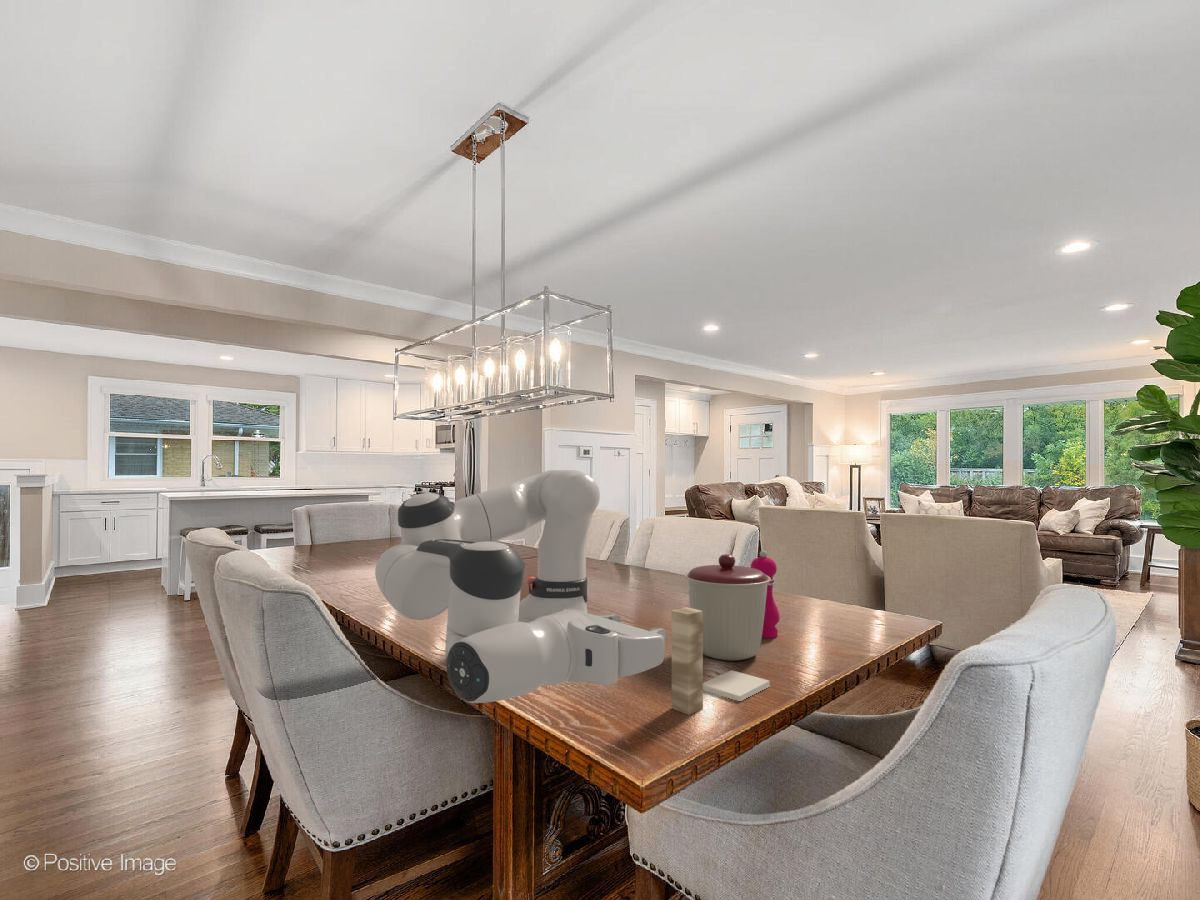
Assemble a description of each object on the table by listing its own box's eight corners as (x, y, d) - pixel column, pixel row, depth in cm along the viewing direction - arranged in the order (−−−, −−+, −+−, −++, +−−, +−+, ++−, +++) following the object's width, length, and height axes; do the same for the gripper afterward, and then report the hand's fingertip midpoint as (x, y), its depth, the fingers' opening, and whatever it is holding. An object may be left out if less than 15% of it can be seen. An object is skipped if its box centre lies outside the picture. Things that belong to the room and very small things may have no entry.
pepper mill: (776, 631, 144) (776, 548, 144) (782, 639, 137) (782, 552, 137) (746, 630, 145) (745, 548, 145) (750, 638, 137) (750, 552, 138)
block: (688, 714, 95) (688, 614, 95) (671, 708, 98) (671, 610, 98) (702, 708, 97) (702, 610, 98) (686, 702, 100) (685, 607, 101)
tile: (740, 696, 100) (769, 680, 107) (700, 684, 106) (731, 670, 113) (740, 705, 100) (769, 689, 107) (700, 693, 106) (731, 678, 113)
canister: (715, 636, 139) (715, 546, 140) (787, 653, 126) (786, 554, 127) (667, 653, 127) (667, 554, 127) (740, 674, 114) (740, 564, 114)
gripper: (524, 650, 88) (594, 632, 97) (617, 690, 73) (690, 664, 82) (524, 607, 88) (594, 594, 98) (617, 638, 73) (690, 619, 82)
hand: (639, 626), depth 90 cm, fingers open, 8 cm apart
